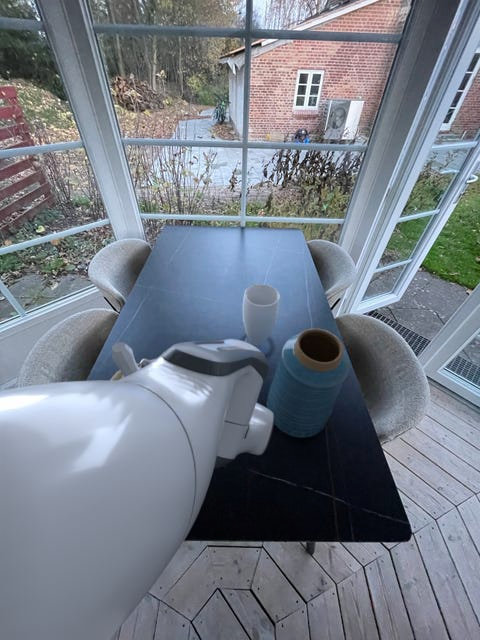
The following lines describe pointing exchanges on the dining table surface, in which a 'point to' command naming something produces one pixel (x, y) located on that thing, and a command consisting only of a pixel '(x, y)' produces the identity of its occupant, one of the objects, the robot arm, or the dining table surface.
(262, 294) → the cup
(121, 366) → the faceted bottle
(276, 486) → the dining table surface
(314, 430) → the vase
